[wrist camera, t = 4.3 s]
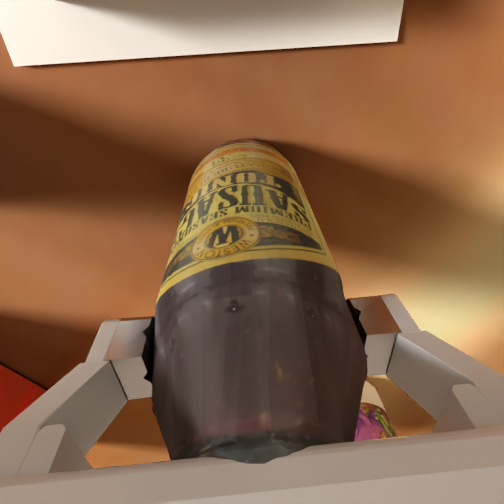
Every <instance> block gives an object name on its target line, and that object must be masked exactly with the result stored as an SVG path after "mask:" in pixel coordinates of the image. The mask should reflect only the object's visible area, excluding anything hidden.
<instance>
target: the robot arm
mask: <svg viewBox="0 0 504 504" xmlns="http://www.w3.org/2000/svg"><path fill="white" fill-rule="evenodd" d="M346 302H347V305H348V307H349V310H350V313H351V315H352V318H353V320H354V323H355V325H356V328H357V330H358V333H359V335H360V337H361V340H362V342H363V345H364V348H365V353H366V356H367V368H368V372H367V376H373V375H386V376H387V377H388V378H389V379H390V380H391V381H393V382H394V383H395V384H396V385H397V386H398V387H399V388H400V389H402V390H403V391H404V392H405V393H406V394H407V395H408V396H409V397H411V398H412V399H413V400H414V401H415V402H416V403H417V404H418V405H420V406H421V407H422V408H423V409H424V410H425V411H426V412H427V413H429V414H430V415H431V416H432V417H433V418H434V419H435V420H436V421H437V422H436V424H435V426H434V428H433V431H432V433H430V434H420V435H411V436H401V437H391V438H382V439H372V440H363V441H353V442H343V443H334V444H324V445H315V446H309V447H307V448H305V449H303V450H301V451H298V452H294V453H292V454H290V455H288V456H284V457H279V458H276V459H273V460H271V461H269V462H267V463H265V464H246V463H242V462H237V461H234V460H229V459H219V458H214V457H200V458H191V459H181V460H171V461H162V462H152V463H143V464H133V465H123V466H114V467H104V468H94V469H93V468H92V466H91V465H90V463H89V462H88V460H87V459H86V457H85V456H86V454H87V453H88V452H89V450H90V449H91V448H92V447H93V445H94V444H95V443H96V441H97V440H98V439H99V438H100V436H101V435H102V434H103V432H104V431H105V430H106V429H107V427H108V426H109V425H110V423H111V422H112V421H113V420H114V418H115V417H116V416H117V415H118V413H119V412H120V411H121V409H122V408H123V407H124V406H125V404H126V403H127V400H131V399H139V398H147V397H152V377H153V353H154V329H155V317H153V316H150V317H135V318H122V319H110V320H105V321H104V322H103V323H102V324H101V326H100V328H99V331H98V333H97V336H96V338H95V340H94V343H93V345H92V347H91V350H90V352H89V354H88V357H87V359H86V361H85V363H80V364H78V365H77V366H76V367H75V368H74V369H72V370H71V371H70V372H69V373H68V374H67V375H65V376H64V377H63V378H62V379H61V380H59V381H58V382H57V383H56V384H55V385H54V386H52V387H51V388H50V389H49V390H48V391H46V392H45V393H44V394H43V395H42V396H41V397H39V398H38V399H37V400H36V401H35V402H33V403H32V404H31V405H30V406H29V407H28V408H26V409H25V410H24V411H23V412H22V413H20V414H19V415H18V416H17V417H16V418H15V419H13V420H12V421H11V422H10V423H9V424H7V425H6V426H5V427H4V428H3V429H2V431H1V433H0V504H504V376H503V375H502V374H500V373H498V372H496V371H495V370H493V369H491V368H489V367H488V366H486V365H484V364H482V363H481V362H479V361H477V360H476V359H474V358H472V357H470V356H469V355H467V354H465V353H463V352H462V351H460V350H458V349H456V348H455V347H453V346H451V345H450V344H448V343H446V342H444V341H443V340H441V339H439V338H437V337H436V336H434V335H432V334H430V333H429V332H427V331H420V329H419V328H418V326H417V325H416V323H415V322H414V320H413V319H412V317H411V316H410V314H409V313H408V311H407V310H406V309H405V307H404V306H403V304H402V303H401V301H400V300H399V298H398V297H397V296H396V295H395V294H387V295H378V296H369V297H359V298H349V299H347V300H346Z"/></svg>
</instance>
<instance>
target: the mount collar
mask: <svg viewBox="0 0 504 504" xmlns="http://www.w3.org/2000/svg"><path fill="white" fill-rule="evenodd" d="M403 2H404V0H0V32H1V34H2V37H3V39H4V42H5V44H6V47H7V49H8V52H9V54H10V57H11V60H12V62H13V65H14V66H29V65H44V64H60V63H75V62H90V61H105V60H120V59H136V58H151V57H166V56H181V55H196V54H212V53H227V52H242V51H257V50H272V49H288V48H303V47H318V46H333V45H348V44H364V43H379V42H394V41H397V39H398V33H399V27H400V21H401V14H402V8H403Z"/></svg>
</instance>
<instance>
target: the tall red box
mask: <svg viewBox="0 0 504 504" xmlns="http://www.w3.org/2000/svg"><path fill="white" fill-rule="evenodd" d="M46 391H47V390H45V389H43V388H41V387H40V386H38V385H36V384H34V383H32V382H31V381H29V380H27V379H25V378H23V377H22V376H20V375H18V374H16V373H15V372H13V371H11V370H9V369H7V368H6V367H4V366H2V365H0V433H1V431H2V429H3V428H4V427H5V426H6V425H7V424H9V423H10V422H11V421H12V420H13V419H15V418H16V417H17V416H18V415H19V414H20V413H22V412H23V411H24V410H25V409H26V408H28V407H29V406H30V405H31V404H32V403H33V402H35V401H36V400H37V399H38V398H39V397H41V396H42V395H43V394H44V393H45V392H46Z"/></svg>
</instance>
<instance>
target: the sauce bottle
mask: <svg viewBox="0 0 504 504" xmlns="http://www.w3.org/2000/svg"><path fill="white" fill-rule="evenodd" d="M367 372H368V368H367V356H366V353H365V348H364V345H363V342H362V340H361V337H360V335H359V333H358V330H357V328H356V325H355V323H354V320H353V318H352V315H351V313H350V310H349V307H348V305H347V302H346V300H345V297H344V294H343V287H342V281H341V278H340V275H339V272H338V270H337V267H336V265H335V263H334V260H333V258H332V256H331V253H330V251H329V249H328V246H327V244H326V241H325V239H324V237H323V234H322V232H321V230H320V227H319V225H318V223H317V221H316V218H315V216H314V214H313V211H312V209H311V207H310V204H309V202H308V199H307V197H306V194H305V192H304V190H303V187H302V185H301V183H300V180H299V178H298V176H297V174H296V172H295V170H294V168H293V166H292V165H291V164H290V163H289V161H288V160H287V159H286V158H285V157H283V156H282V154H280V153H279V152H278V151H277V150H276V149H275V148H274V147H273V146H272V145H270V144H267V143H264V142H260V141H255V140H246V139H238V140H235V141H227V142H226V143H224V144H222V145H221V146H219V147H217V148H216V149H215V150H213V151H211V152H210V153H209V154H208V155H207V156H206V157H205V158H204V159H203V160H202V161H201V162H200V163H199V165H198V167H197V168H196V170H195V172H194V173H193V175H192V178H191V181H190V184H189V188H188V191H187V195H186V199H185V202H184V205H183V209H182V213H181V217H180V221H179V224H178V228H177V232H176V236H175V239H174V243H173V246H172V250H171V254H170V257H169V260H168V264H167V267H166V270H165V274H164V277H163V280H162V283H161V288H160V292H159V295H158V298H157V302H156V306H155V329H154V353H153V377H152V403H153V413H154V414H155V416H156V418H157V421H158V424H159V427H160V430H161V432H162V435H163V438H164V440H165V443H166V446H167V449H168V453H169V456H170V459H171V460H181V459H191V458H200V457H214V458H219V459H229V460H234V461H237V462H242V463H246V464H265V463H267V462H269V461H271V460H273V459H276V458H279V457H284V456H288V455H290V454H292V453H294V452H298V451H301V450H303V449H305V448H307V447H309V446H315V445H324V444H334V443H343V442H353V441H354V439H355V434H356V428H357V422H358V416H359V410H360V404H361V398H362V392H363V387H364V383H365V380H366V377H367Z"/></svg>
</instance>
